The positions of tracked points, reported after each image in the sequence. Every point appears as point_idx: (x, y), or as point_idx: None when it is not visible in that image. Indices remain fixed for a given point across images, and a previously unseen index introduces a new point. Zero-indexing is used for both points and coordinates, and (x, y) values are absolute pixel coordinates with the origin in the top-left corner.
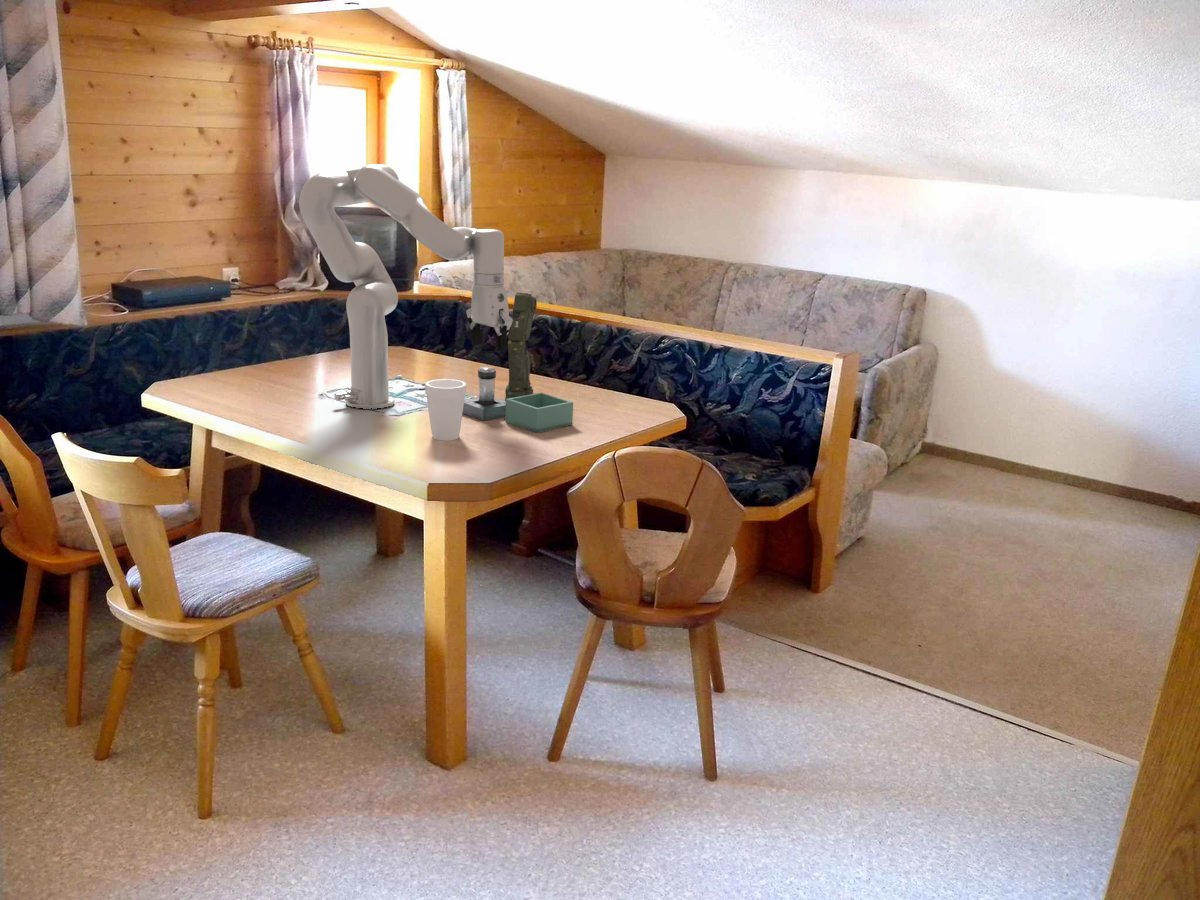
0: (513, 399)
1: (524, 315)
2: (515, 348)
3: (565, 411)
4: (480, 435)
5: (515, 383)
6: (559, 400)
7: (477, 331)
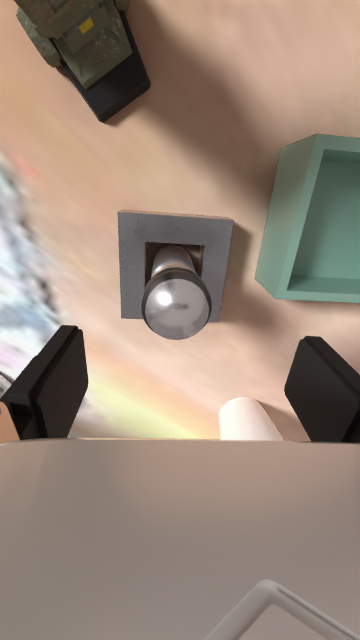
0: (288, 278)
1: None
2: None
3: None
4: (278, 372)
5: (68, 15)
6: None
7: (53, 426)
